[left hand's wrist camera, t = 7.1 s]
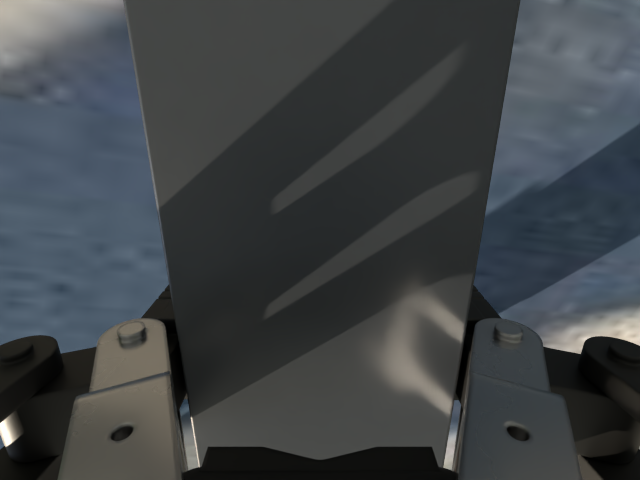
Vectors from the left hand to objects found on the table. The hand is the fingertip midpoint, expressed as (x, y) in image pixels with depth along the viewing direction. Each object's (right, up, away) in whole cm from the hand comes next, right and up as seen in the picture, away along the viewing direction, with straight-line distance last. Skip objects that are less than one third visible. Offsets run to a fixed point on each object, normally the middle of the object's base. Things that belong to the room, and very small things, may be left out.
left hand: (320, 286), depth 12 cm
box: (0, +11, +3) cm, 11 cm away
